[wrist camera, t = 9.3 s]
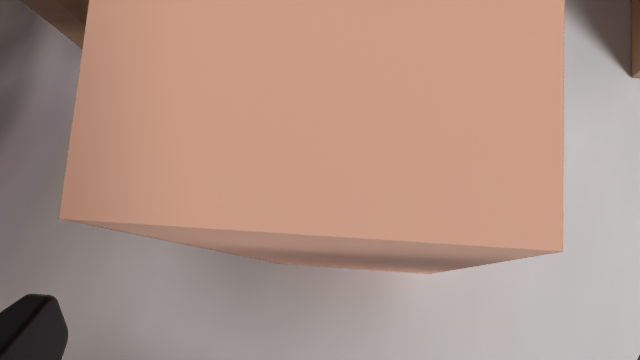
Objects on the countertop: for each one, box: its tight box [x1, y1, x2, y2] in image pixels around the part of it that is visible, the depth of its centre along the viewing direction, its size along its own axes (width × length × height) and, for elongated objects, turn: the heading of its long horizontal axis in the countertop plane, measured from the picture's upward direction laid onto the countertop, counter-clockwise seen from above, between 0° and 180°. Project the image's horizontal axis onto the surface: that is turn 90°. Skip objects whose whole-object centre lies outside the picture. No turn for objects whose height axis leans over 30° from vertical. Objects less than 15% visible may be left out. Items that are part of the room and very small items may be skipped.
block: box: [59, 0, 565, 274], centre depth 12 cm, size 4×4×13 cm
